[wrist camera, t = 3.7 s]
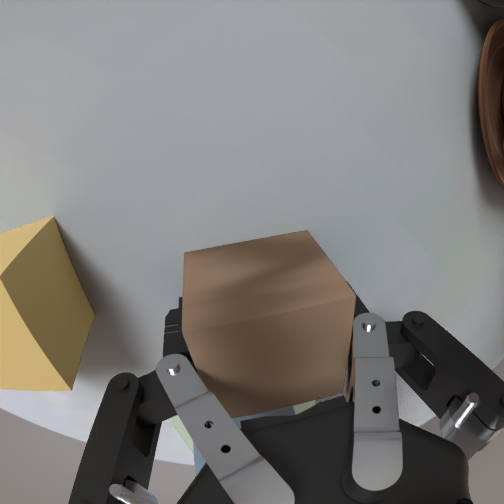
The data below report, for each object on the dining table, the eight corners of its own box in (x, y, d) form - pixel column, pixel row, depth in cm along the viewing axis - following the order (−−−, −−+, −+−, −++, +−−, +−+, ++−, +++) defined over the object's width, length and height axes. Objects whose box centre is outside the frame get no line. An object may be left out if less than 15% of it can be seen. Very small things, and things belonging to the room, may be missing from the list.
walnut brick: (307, 230, 14) (355, 295, 9) (309, 321, 16) (342, 392, 12) (184, 252, 13) (181, 332, 9) (209, 341, 16) (217, 420, 12)
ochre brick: (54, 215, 11) (-1, 276, 7) (95, 313, 14) (71, 390, 10) (-21, 240, 11) (-74, 295, 6) (20, 323, 14) (-11, 388, 9)
